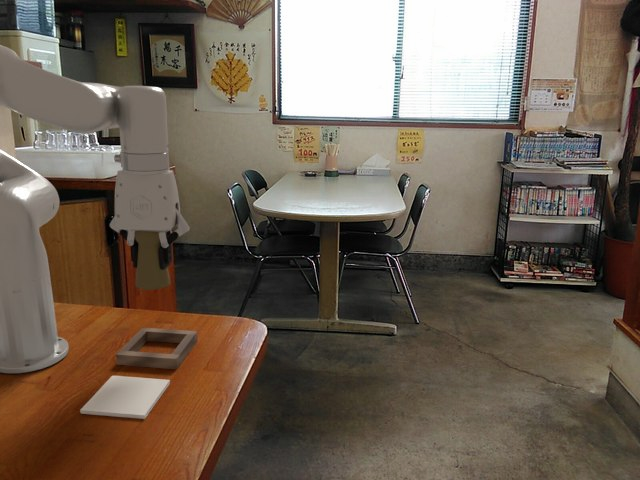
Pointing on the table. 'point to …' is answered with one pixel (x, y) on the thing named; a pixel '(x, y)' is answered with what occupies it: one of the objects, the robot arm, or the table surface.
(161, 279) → the cork
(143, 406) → the coaster
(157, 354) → the holder
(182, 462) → the table surface
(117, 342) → the table surface
